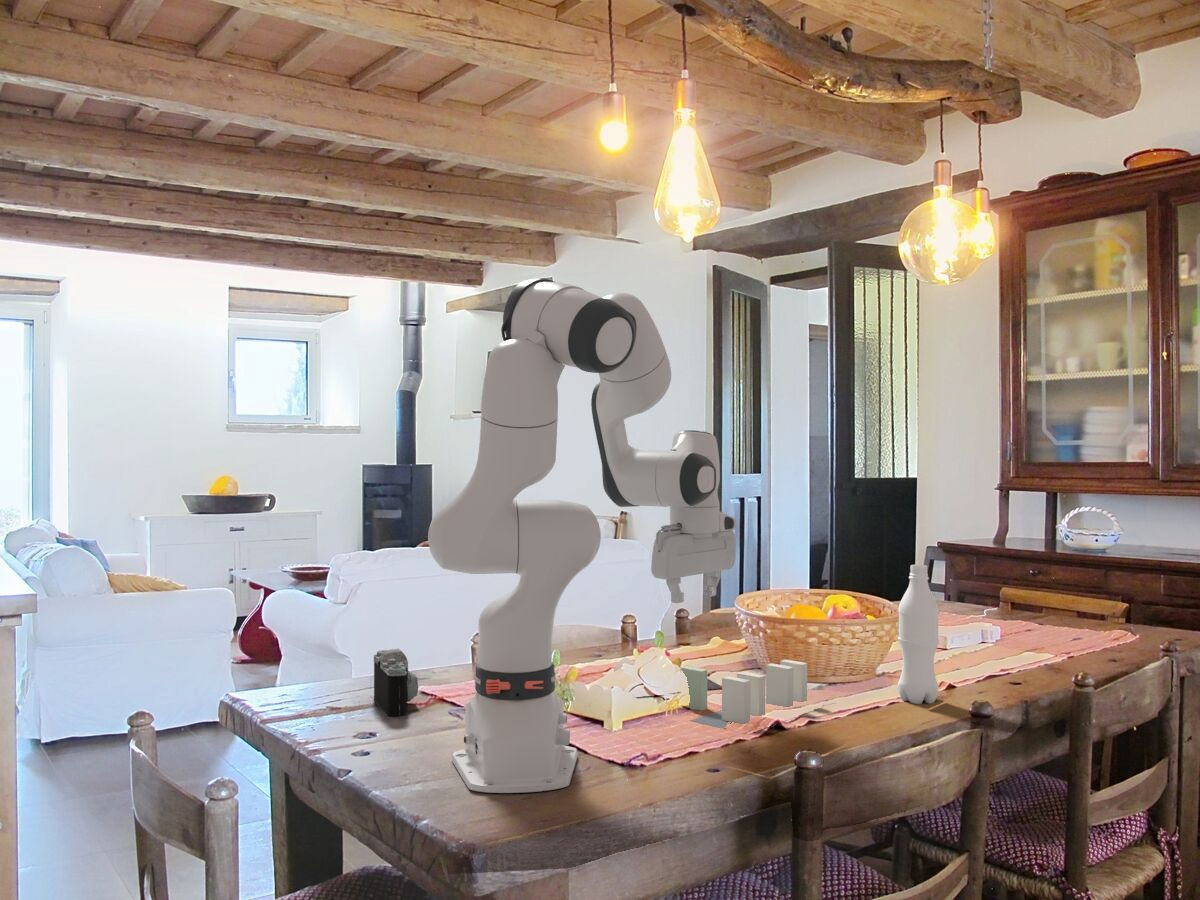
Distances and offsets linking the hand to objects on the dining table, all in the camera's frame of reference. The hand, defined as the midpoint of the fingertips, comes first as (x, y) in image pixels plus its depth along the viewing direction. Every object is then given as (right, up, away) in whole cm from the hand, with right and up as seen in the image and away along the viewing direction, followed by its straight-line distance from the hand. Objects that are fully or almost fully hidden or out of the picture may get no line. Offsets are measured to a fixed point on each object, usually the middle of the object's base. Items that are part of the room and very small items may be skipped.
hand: (694, 599), depth 185 cm
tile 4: (+15, -19, +1) cm, 25 cm away
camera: (-53, -20, +2) cm, 57 cm away
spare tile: (0, -20, 0) cm, 20 cm away
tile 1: (+6, -19, -9) cm, 22 cm away
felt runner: (+12, -20, -2) cm, 23 cm away
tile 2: (+9, -19, -6) cm, 22 cm away
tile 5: (+19, -19, +4) cm, 27 cm away
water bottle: (+42, -20, +6) cm, 46 cm away
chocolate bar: (-3, -20, +15) cm, 25 cm away
